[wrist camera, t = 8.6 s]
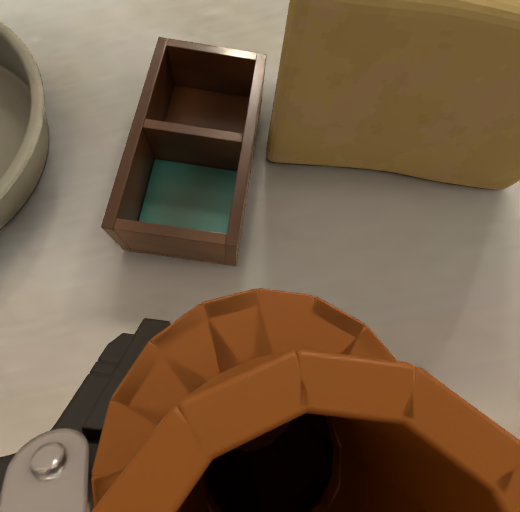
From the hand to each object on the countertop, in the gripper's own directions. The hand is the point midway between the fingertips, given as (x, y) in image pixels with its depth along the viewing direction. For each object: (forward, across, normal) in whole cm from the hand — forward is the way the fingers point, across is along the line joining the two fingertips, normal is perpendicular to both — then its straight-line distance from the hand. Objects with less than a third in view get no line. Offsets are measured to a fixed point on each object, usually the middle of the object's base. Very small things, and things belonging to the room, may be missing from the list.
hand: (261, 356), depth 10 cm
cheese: (+24, -11, -4) cm, 27 cm away
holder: (+21, +6, -1) cm, 22 cm away
